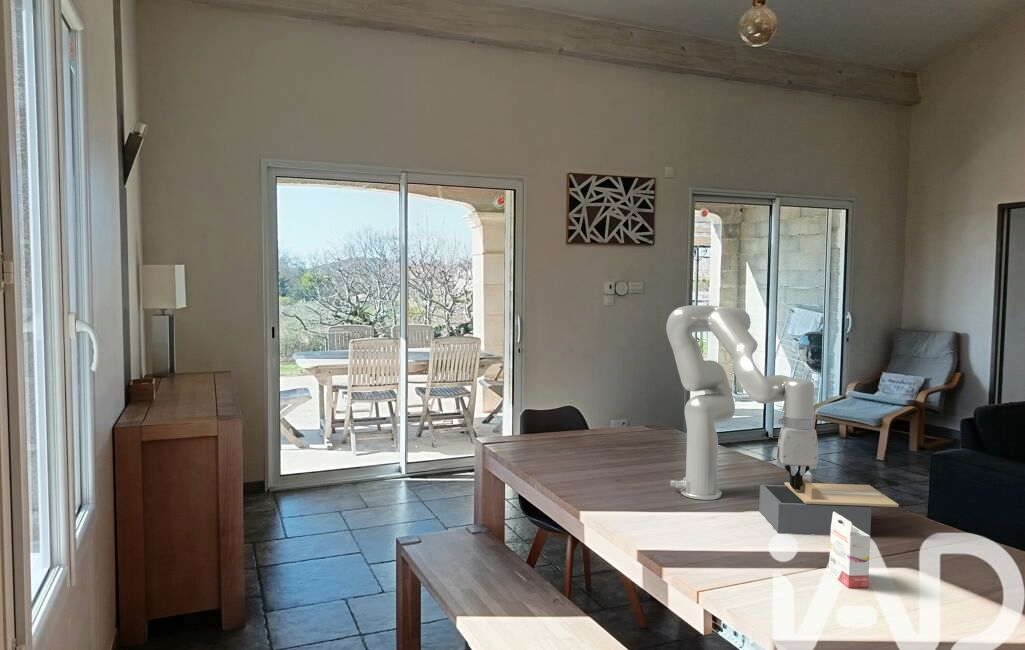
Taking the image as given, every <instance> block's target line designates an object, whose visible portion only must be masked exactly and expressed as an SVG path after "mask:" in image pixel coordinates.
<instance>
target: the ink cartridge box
mask: <svg viewBox="0 0 1025 650" xmlns="http://www.w3.org/2000/svg"><path fill="white" fill-rule="evenodd" d="M838 520H840V521H841V520H842V522H843V523H844V524H840V523H839V522H838ZM829 536H830V540H829V562H828V573H829V574H830V575H832V576H833V578H835V579H836V580H837V581H839V582H840V583H842V584H843V585H845V587H847V588H851V589H852V588H868V587H869V576H870V575H869V573H870V571H869V570H870V553H871V552H870V551H871V534H870V535H868V534H866V533H864V532H863V531H861V530H860V529H858V528H856V527H855V526H853V525H852V522H850V521H849V520H847V519H846V518H844V517H842V516H841V515H839V514H837V513H836V512H833V515H832V523H831V535H829Z"/></svg>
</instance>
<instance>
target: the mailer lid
mask: <svg viewBox="0 0 1025 650" xmlns="http://www.w3.org/2000/svg"><path fill="white" fill-rule="evenodd" d="M784 485H785V486H787V487H788V488H789V489H790V490H791V491H792V492H793V493H795V494H796V495H797V496H798V497H799V498H800V499H801V500H802V501H803V502H804V503H805V504H831V505H860V506H871V507H888V508H889V507H892V508H893V507H895V508H899V507H900V506H899V505H900V504H899V503H898V502H896V501H894V500H893V499H891V498H890V497H888V496H887V495H885V494H884V493H882V492H880V491H879V490H878V489H876V488H874V487H873V486H871V485H870V484H850V483H848V484H847V483H845V484H844V483H822V482H821V483H819V482H816V483H814V482H812V483H810V482H809V481H808V480H807V479H806V478H804V477H803V482H802V486H801V490H798V489H797V490H794V489H793V488H792V487H791V486H790V481H788V482H787V481H785V482H784Z"/></svg>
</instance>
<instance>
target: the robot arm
mask: <svg viewBox="0 0 1025 650" xmlns="http://www.w3.org/2000/svg"><path fill="white" fill-rule="evenodd" d="M751 322H752V321H751V318H750V315H749V314H748V312H747V311H746V310H745V309H742V308H741V307H734V306H733V307H730V306H720V305H719V306H718V305H708V304H707V305H702V304H701V305H696V304H695V305H694V304H693V305H692V304H691V305H683V306H680V307H677V308H675V309H674V310H673V311H671V313H670V314H669V316H668V318H667V321H666V326H665V327H666V334H667V338H668V343H670V347H671V350H672V351H673V352H672V353H673V355H674V361H675V365H676V367H677V371H678V375H679V379H680V382H681V385H682V386H683V388H684V389H685V390H687V391H689V392H693V393H694V392H704V394H699V395H695V396H692V397H691V398H689V399H688V400H687V402H686V403H685V406H684V417H685V418H684V420H685V425H686V456H685V457H686V458H685V459H686V461H685V465H686V466H685V476H683V479H680V480H675V479H674V480H673V479H670V485H669V486H670V487H675V488H676V489H680V494H681V495H683V497H684V496H685V497H687V498H690V499H694V500H701V501H703V500H704V501H713V500H718V499H721V497H722V494H723V493H722V491H721V490H720V489H718V461H719V460H718V457H719V456H718V455H719V438H718V433H717V429H716V427H715V425H716V424H722V423H725V422H729V421H730V420H731V419H732V418H733V417H734V415H735V411H736V404H735V401H734V396H733V393H732V390H731V387H730V383H729V379H728V376H727V373H726V370H725V369H724V367H723V366H722V365H721V364H720V363H719V362H717V361H715V360H709V359H708V360H705V359H704V356H703V353H702V350H701V346H700V344H699V342H698V341H697V339H696V338H695V336H693V333H701V332H703V333H704V332H705V333H706V332H711V333H712V334H713V336H715V338H716V339H717V340H718V341H719V343H720V344H721V345H722V346H723V348H724V350H725V351H726V352H727V353H728V355H729V356H730V357H731V359H732V367H733V371H734V374H735V378H736V380H737V382H738V383H739V385H740V386H741V388H742V389H743V390H744V391H745V393H746V394H747V395H748V397H750V398H751V399H752V400H753V401H754V402H756V403H758V404H771V403H779V402H784V404H783V417H782V418H779V419H778V424H780V425H782V426H781V428H780V431H779V434H778V440H777V441H778V442H777V449H776V458H777V461H776V466H777V468H781V469H784V470H786V472H788V473H789V482H790V486H791V487H792V488H793V489H794V490H797V489H798V490H801V486H802V482H803V476H804V474H805V473H806V472H807V471H809V470H814V469H817V468H818V463H819V445H818V444H819V442H818V435H817V430H816V429H815V428H814V427H813V426H814V425H813V424H814V403H815V402H814V401H815V399H814V398H815V385H814V382H813V381H812V380H809V379H805V378H794V377H790V376H786V375H783V374H776V375H764V374H763V373H762V372H761V371H760V369H759V368H758V367H757V366H756V363H755V361H754V360H753V359H754V358H753V354H754V353H755V352H756V350H757V349H758V341H757V340H756V339H755V338H754V337H753V335H752V334H751V333H750V332H749V330H750V326H751ZM796 466H797V467H796ZM795 468H797V472H796V471H795Z"/></svg>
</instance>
